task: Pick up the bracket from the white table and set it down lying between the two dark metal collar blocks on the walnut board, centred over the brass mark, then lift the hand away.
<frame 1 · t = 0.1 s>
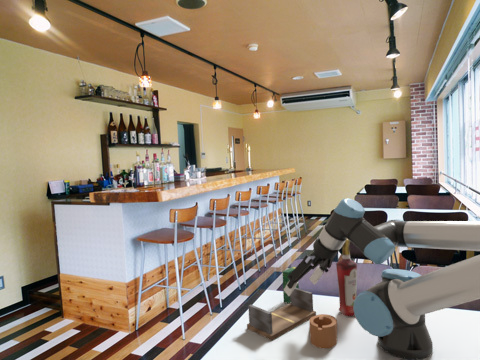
hand: (300, 287, 119), 15 cm above the table, tool tilted 35°, fingers open, 13 cm apart
coffee box: (291, 300, 145), on the table
bracket: (324, 334, 117), on the table
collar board: (282, 321, 127), on the table
liquor: (348, 314, 130), on the table
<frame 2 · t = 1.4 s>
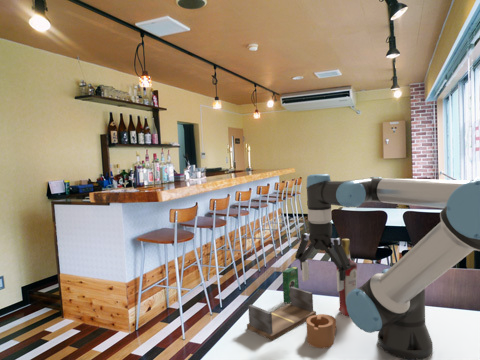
hand: (322, 284, 116), 17 cm above the table, tool pointing down, fingers open, 13 cm apart
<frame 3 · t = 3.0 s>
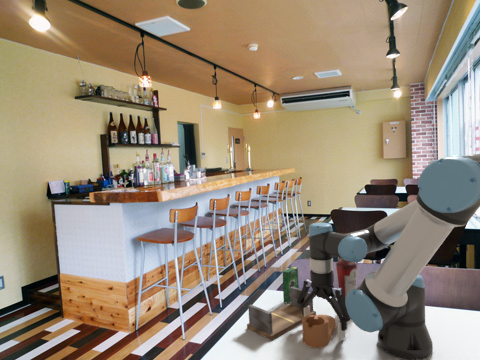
hand: (324, 331, 117), 0 cm above the table, tool pointing down, fingers open, 13 cm apart
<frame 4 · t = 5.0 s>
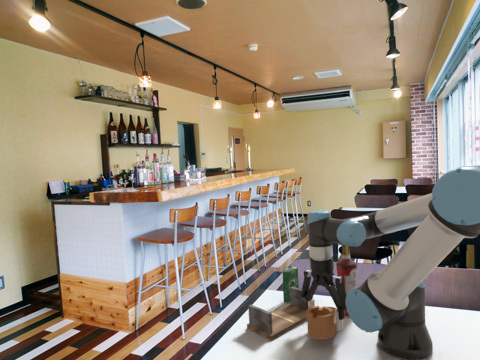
hand: (325, 323, 116), 4 cm above the table, tool pointing down, fingers closed on bracket, 10 cm apart
bracket: (325, 326, 115), point 3 cm above the table, touching gripper
everything else where it was.
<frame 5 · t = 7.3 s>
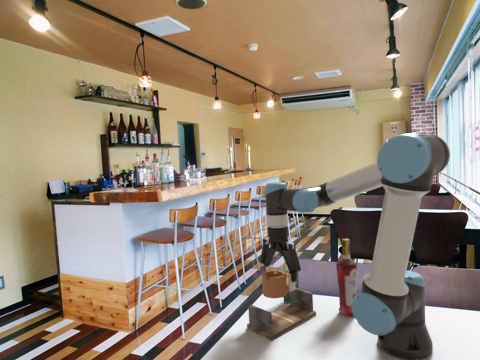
hand: (280, 286, 126), 13 cm above the table, tool pointing down, fingers closed on bracket, 10 cm apart
bracket: (280, 288, 125), point 13 cm above the table, touching gripper
everything else where it was.
when the fingers open (3 cm above the table, at t = 10.0 s): bracket stays where it is, resting on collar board.
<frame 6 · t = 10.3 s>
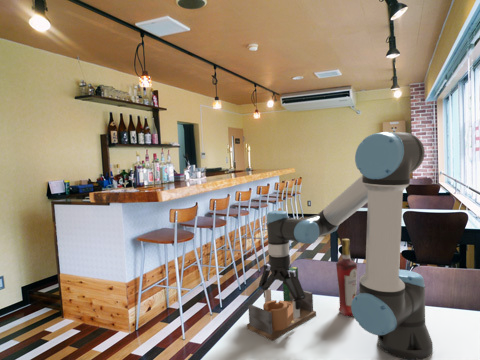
hand: (282, 311, 126), 4 cm above the table, tool pointing down, fingers open, 13 cm apart
bracket: (281, 318, 126), point 1 cm above the table, touching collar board
everything else where it was.
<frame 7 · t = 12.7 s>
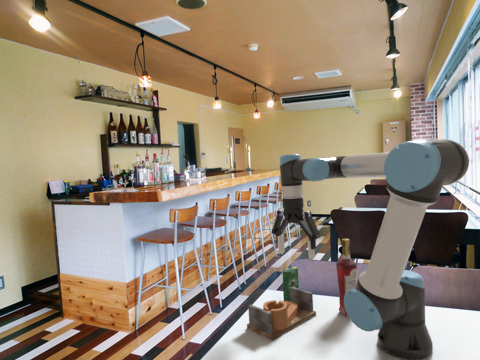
hand: (296, 255, 127), 24 cm above the table, tool pointing down, fingers open, 13 cm apart
nothing on the table moved.
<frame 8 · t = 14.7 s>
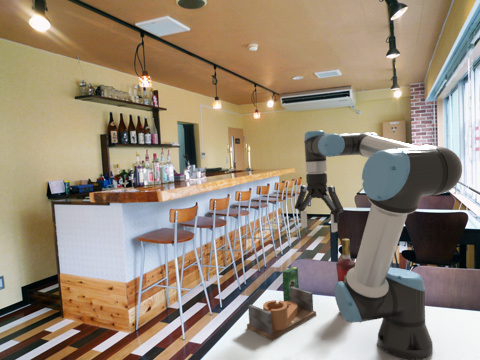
hand: (318, 229, 131), 32 cm above the table, tool pointing down, fingers open, 13 cm apart
nothing on the table moved.
at the end: bracket 0.8 cm off-centre on the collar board, point 1.4 cm above the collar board's base; bracket tilted 1°; the gripper is holding nothing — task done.
